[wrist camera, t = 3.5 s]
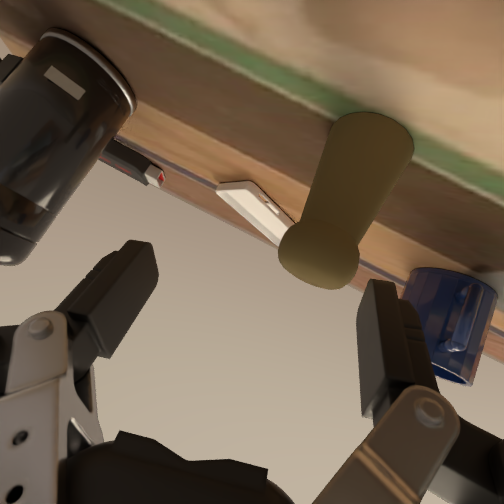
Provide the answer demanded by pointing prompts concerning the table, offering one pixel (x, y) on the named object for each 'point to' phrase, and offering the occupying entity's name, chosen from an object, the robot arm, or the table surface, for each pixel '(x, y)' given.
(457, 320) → the mug
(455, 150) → the table surface
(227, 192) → the phone case
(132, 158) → the usb drive
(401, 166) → the olive pawn figure
